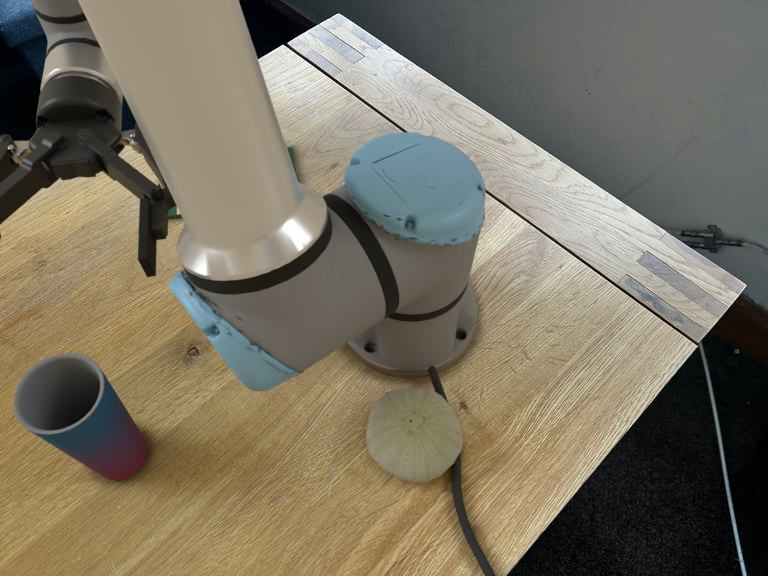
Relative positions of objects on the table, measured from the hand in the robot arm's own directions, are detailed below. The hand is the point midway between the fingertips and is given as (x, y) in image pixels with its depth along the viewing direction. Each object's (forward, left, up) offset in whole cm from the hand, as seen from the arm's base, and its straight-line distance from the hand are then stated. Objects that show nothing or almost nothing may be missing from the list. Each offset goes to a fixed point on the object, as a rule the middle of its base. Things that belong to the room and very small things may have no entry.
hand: (63, 278), depth 55 cm
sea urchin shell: (-13, -28, -16) cm, 35 cm away
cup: (-10, 0, -16) cm, 19 cm away
